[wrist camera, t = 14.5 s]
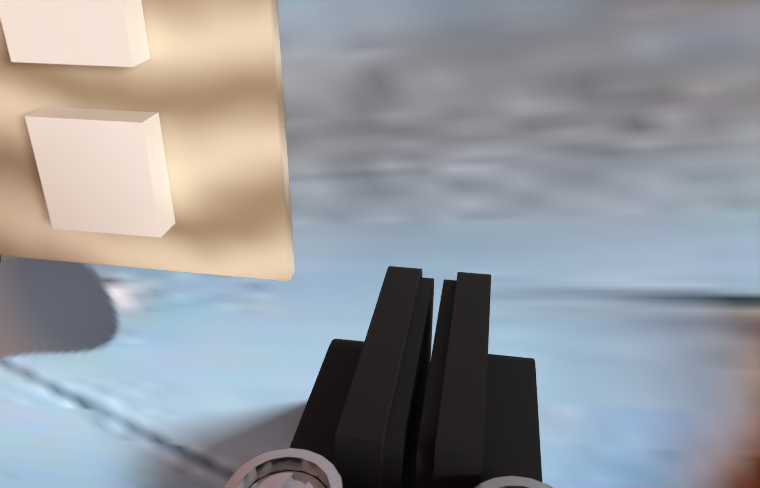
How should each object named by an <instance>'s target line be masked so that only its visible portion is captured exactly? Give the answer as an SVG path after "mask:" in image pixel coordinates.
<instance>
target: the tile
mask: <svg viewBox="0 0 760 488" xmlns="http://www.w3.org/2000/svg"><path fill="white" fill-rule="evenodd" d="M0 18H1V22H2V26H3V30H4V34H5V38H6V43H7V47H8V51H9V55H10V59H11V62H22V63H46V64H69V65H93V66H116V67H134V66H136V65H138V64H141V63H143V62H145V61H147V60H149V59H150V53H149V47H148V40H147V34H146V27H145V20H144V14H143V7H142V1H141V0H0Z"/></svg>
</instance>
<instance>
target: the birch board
mask: <svg viewBox="0 0 760 488" xmlns="http://www.w3.org/2000/svg"><path fill="white" fill-rule="evenodd" d="M141 1H142V7H143V14H144V20H145V27H146V34H147V40H148V47H149V53H150V59H149V60H147V61H145V62H143V63H141V64H138V65H136V66H134V67H116V66H93V65H69V64H46V63H22V62H11V59H10V55H9V51H8V47H7V43H6V38H5V34H4V30H3V26H2V22H1V18H0V255H1V256H11V257H23V258H34V259H46V260H57V261H68V262H79V263H90V264H102V265H113V266H124V267H136V268H147V269H158V270H170V271H181V272H192V273H204V274H215V275H226V276H238V277H249V278H260V279H272V280H283V281H290V279H291V278H292V276H293V274H294V272H295V267H294V252H293V237H292V221H291V206H290V191H289V175H288V160H287V145H286V129H285V114H284V99H283V83H282V68H281V53H280V38H279V22H278V7H277V0H141ZM46 106H49V107H68V108H87V109H106V110H126V111H145V112H159V118H160V125H161V131H162V138H163V144H164V151H165V157H166V164H167V170H168V177H169V183H170V190H171V196H172V203H173V210H174V216H175V224H174V225H173V226H172V227H171V228H170V229H169V230H168V231H167V232H166V233H165V234H164V235H163V236H162V237H149V236H137V235H125V234H112V233H100V232H87V231H75V230H63V229H53V228H52V224H51V220H50V216H49V212H48V208H47V204H46V200H45V196H44V192H43V188H42V184H41V180H40V176H39V172H38V168H37V164H36V160H35V155H34V151H33V147H32V143H31V139H30V135H29V131H28V127H27V123H26V119H25V116H27V115H29V114H31V113H33V112H35V111H37V110H39V109H41V108H44V107H46Z"/></svg>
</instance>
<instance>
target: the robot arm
mask: <svg viewBox="0 0 760 488" xmlns="http://www.w3.org/2000/svg"><path fill="white" fill-rule="evenodd" d="M490 289H491V275H489V274H477V273H465V272H458V274H457V281H456V280H444V282H443V289H442V295H441V301H440V307H439V313H438V319H437V325H436V332H435V338H434V344H433V350H432V356H431V339H432V317H433V295H434V279H433V278H422V269H417V268H405V267H393V266H389V267H388V269H387V272H386V275H385V279H384V282H383V285H382V288H381V291H380V294H379V298H378V301H377V304H376V307H375V310H374V313H373V317H372V320H371V323H370V326H369V329H368V332H367V336H366V339H365V342H363V341H353V340H343V339H334V340H332V342H331V344H330V346H329V348H328V351H327V353H326V356H325V359H324V361H323V364H322V366H321V369H320V371H319V374H318V376H317V379H316V382H315V384H314V387H313V389H312V392H311V394H310V397H309V400H308V402H307V405H306V407H305V410H304V412H303V415H302V417H301V420H300V423H299V425H298V428H297V430H296V433H295V435H294V438H293V441H292V443H291V446H290V448H286V449H277V450H272V451H269V452H266V453H263V454H260V455H257V456H255V457H254V458H252V459H251V460H249V461H247V462H246V463H244V464H243V465H241V467H240V468H239V469H238V470H237V471H236V472H235V473H234V474H233V475H232V476H231V477H230V479H229V480H228V482H227V483H226V485H225V486H224V488H553V487H551V486H550V485H548V484H545V483H542V470H541V453H540V436H539V419H538V402H537V385H536V368H535V360H534V359H532V358H522V357H512V356H502V355H493V354H488V337H489V313H490ZM430 361H431V362H430Z"/></svg>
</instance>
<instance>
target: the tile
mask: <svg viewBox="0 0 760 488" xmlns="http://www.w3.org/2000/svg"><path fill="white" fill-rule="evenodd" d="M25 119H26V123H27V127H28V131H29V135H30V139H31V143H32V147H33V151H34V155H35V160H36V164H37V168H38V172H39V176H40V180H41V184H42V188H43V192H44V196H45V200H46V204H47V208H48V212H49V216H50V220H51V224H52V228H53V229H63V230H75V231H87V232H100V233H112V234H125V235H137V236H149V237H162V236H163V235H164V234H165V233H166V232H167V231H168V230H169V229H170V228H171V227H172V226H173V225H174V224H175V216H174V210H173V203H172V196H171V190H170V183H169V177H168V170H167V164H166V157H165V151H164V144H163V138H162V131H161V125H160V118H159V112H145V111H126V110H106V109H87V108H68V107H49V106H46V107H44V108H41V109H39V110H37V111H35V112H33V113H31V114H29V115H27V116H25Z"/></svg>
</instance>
